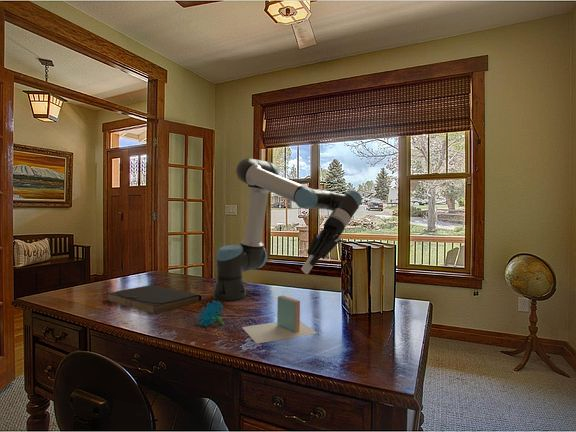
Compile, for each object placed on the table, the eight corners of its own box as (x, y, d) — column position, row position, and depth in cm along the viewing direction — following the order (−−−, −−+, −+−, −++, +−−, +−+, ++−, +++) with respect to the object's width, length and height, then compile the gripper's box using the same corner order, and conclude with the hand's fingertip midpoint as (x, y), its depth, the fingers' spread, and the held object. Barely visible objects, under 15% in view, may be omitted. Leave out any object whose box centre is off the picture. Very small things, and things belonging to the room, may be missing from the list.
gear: (191, 318, 116) (210, 295, 120) (201, 326, 119) (219, 304, 123) (207, 330, 108) (227, 306, 112) (217, 339, 111) (236, 315, 115)
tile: (282, 323, 115) (282, 295, 115) (299, 331, 108) (299, 300, 108) (276, 325, 113) (277, 296, 113) (294, 332, 106) (294, 302, 106)
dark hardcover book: (106, 292, 142) (155, 283, 163) (106, 302, 142) (155, 291, 163) (153, 305, 125) (201, 293, 145) (152, 315, 125) (201, 302, 145)
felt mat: (241, 328, 111) (241, 327, 111) (297, 320, 120) (297, 319, 120) (256, 344, 97) (256, 343, 97) (317, 334, 106) (317, 333, 106)
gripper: (354, 230, 122) (322, 280, 112) (329, 229, 132) (298, 275, 122) (344, 216, 119) (310, 267, 108) (319, 216, 129) (286, 262, 119)
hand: (304, 271), depth 115 cm, fingers closed
